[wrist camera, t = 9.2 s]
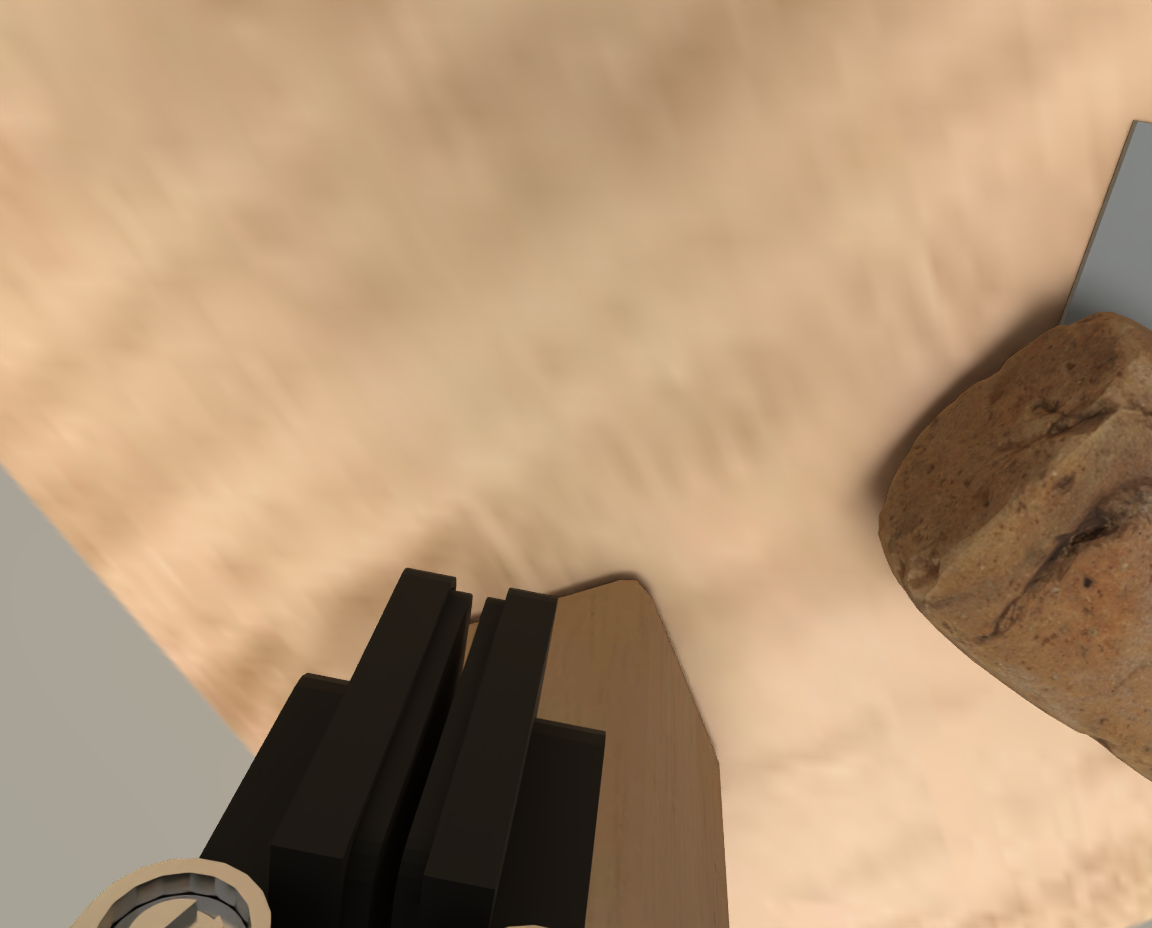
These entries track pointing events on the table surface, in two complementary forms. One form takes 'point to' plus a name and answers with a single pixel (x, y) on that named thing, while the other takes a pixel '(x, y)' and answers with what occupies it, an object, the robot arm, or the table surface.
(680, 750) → the wooden block
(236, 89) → the table surface
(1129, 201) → the mat
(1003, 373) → the brown rounded lump
